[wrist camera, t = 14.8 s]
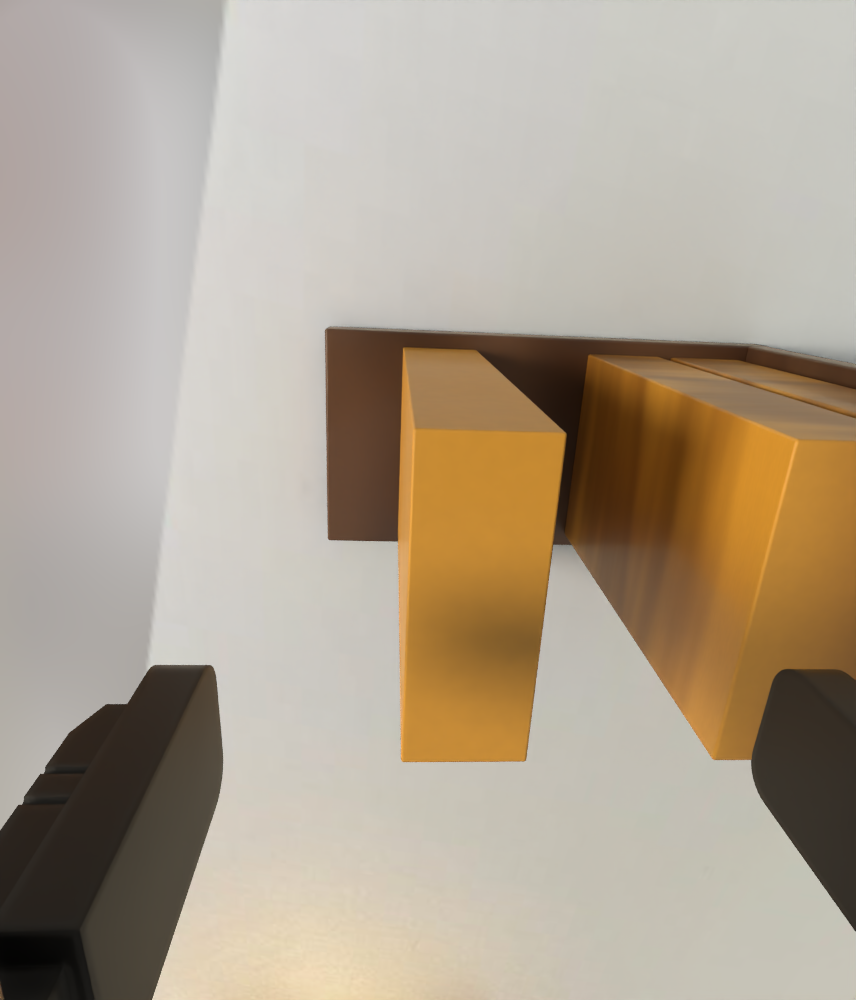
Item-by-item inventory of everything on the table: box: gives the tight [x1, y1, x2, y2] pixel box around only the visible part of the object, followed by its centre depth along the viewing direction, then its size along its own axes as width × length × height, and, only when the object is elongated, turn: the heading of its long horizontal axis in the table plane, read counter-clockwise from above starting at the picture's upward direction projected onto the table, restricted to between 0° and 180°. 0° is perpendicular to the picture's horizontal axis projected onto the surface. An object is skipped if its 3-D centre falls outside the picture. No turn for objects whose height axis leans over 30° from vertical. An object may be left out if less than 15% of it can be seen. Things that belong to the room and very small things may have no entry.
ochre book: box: [398, 347, 567, 762], centre depth 17 cm, size 3×7×12 cm, turn 177°
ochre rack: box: [325, 326, 856, 760], centre depth 18 cm, size 16×8×13 cm, turn 87°
